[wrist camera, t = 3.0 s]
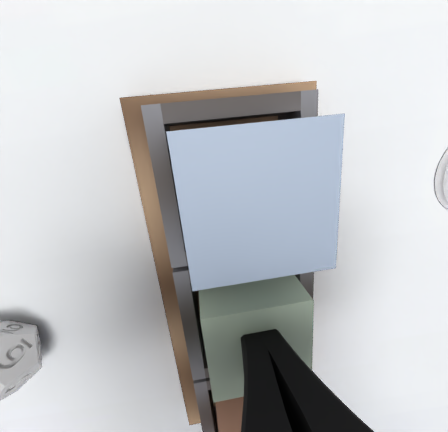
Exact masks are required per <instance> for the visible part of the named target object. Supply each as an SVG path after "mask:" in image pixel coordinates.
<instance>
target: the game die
mask: <svg viewBox="0 0 448 432" xmlns="http://www.w3.org/2000/svg"><path fill="white" fill-rule="evenodd" d="M41 368H42V351H41V342H40V338H39V333H38V329H37V325H32V324H26V323H21V322H15V321H10V320H7V321H2V322H0V400H2V399H4V398H6V397H7V396H9V395H11V394H13V393H14V392H16V391H17V390H18V389H19V388H21V387H22V386H23V385H24V384H25V383H26V382H27V381H28V380H29V379H30V378H31V377H32V376H33V375H34V374H35V373H36V372H38V371H39V370H40V369H41Z"/></svg>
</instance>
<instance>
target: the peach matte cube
mask: <svg viewBox="0 0 448 432" xmlns="http://www.w3.org/2000/svg"><path fill="white" fill-rule="evenodd" d="M243 399H244V396H243V397H239V398H234V399H229V400H224V401H219V402H216V412H217V422H218V432H241V425H242V412H243Z"/></svg>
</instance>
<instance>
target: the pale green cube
mask: <svg viewBox="0 0 448 432" xmlns="http://www.w3.org/2000/svg"><path fill="white" fill-rule="evenodd" d="M199 306H200V321H201V327H202V334H203V340H204V346H205V352H206V359H207V365H208V371H209V378H210V384H211V390H212V396H213V403H214V402H219V401H224V400H229V399H234V398H239V397H243V396H244V369H243V359H242V348H241V337H242V336H243V335H245V334H250V333H256V332H261V331H267V330H272V329H277V330H278V331H279V332H280V333H281V335H282V336H283V337H284V339H285V340H286V341H287V342H288V344H289V345H290V346H291V347H292V348H293V350H294V351H295V352H296V353H297V354H298V355H299V357H300V358H301V359H302V360H303V361H304V362H305V364H306V365H307V366H308V367H309V368H310V369H311V370H312V345H313V306H314V300H313V299H312V297H311V296H310V295H309V293H308V292H307V291H306V289H305V288H304V287H303V285H302V284H301V283H300V281H299V280H298V279H297V277H296V276H295V275H290V276H284V277H278V278H272V279H265V280H259V281H253V282H247V283H241V284H235V285H229V286H222V287H216V288H210V289H204V290H199Z"/></svg>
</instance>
